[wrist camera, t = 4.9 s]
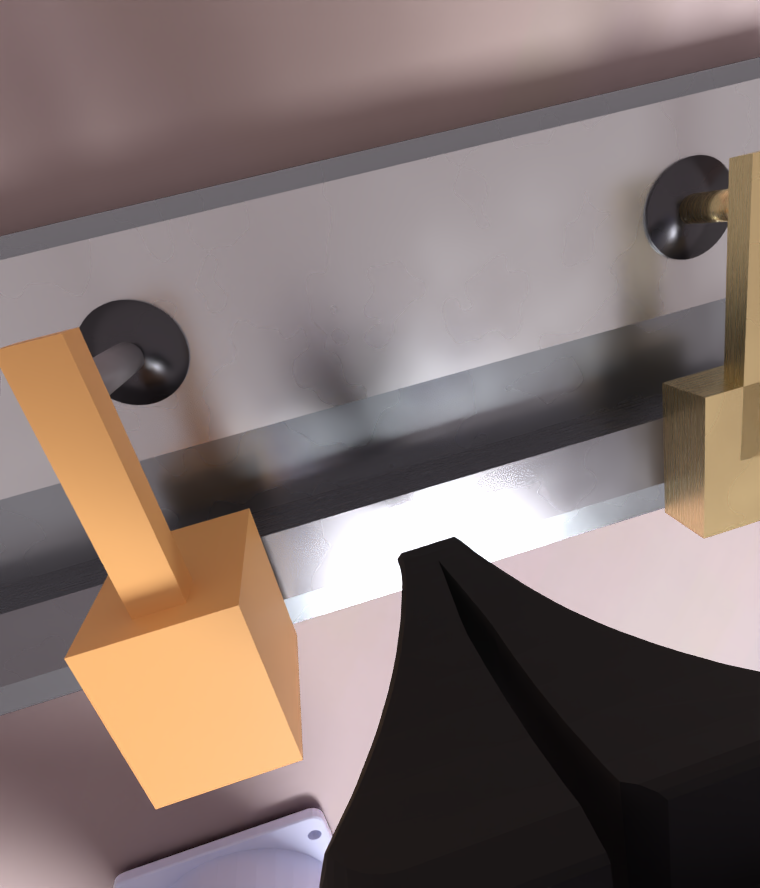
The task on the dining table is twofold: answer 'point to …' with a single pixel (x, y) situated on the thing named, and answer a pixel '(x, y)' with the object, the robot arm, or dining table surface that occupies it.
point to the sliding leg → (162, 593)
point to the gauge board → (410, 351)
